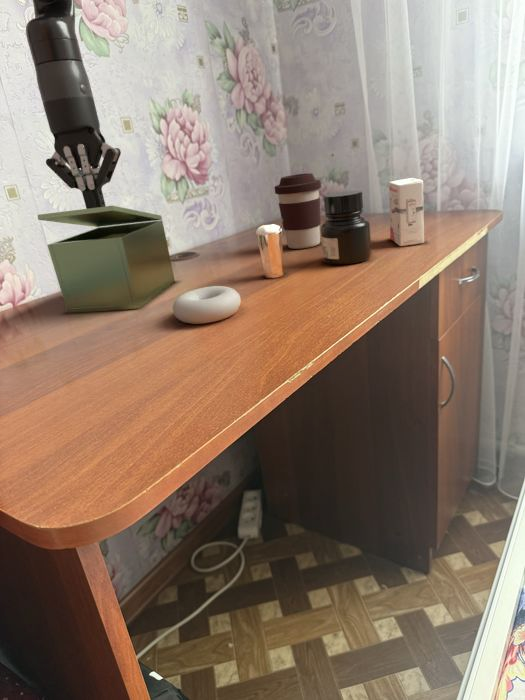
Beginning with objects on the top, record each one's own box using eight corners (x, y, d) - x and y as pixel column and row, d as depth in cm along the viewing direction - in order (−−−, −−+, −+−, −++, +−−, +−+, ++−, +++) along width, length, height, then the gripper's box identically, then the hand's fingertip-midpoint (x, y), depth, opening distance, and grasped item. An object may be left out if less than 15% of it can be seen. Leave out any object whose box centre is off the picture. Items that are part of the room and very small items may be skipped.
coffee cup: (335, 241, 111) (329, 170, 105) (305, 252, 105) (297, 177, 99) (302, 239, 118) (295, 173, 112) (272, 249, 112) (263, 180, 106)
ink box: (389, 239, 105) (387, 180, 101) (413, 236, 105) (411, 177, 101) (399, 246, 97) (397, 183, 93) (425, 243, 97) (424, 180, 93)
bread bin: (138, 308, 82) (121, 237, 77) (67, 313, 86) (47, 244, 81) (175, 282, 96) (162, 220, 91) (112, 287, 99) (97, 227, 95)
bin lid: (113, 210, 76) (112, 205, 75) (37, 219, 79) (37, 214, 79) (162, 219, 91) (161, 215, 91) (97, 227, 95) (96, 222, 95)
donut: (217, 330, 67) (255, 305, 75) (212, 306, 66) (251, 283, 73) (161, 326, 72) (202, 302, 80) (156, 303, 71) (198, 281, 79)
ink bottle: (323, 256, 99) (318, 194, 94) (368, 251, 97) (365, 187, 93) (323, 268, 90) (317, 200, 85) (373, 263, 88) (370, 193, 84)
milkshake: (283, 279, 87) (276, 221, 83) (257, 279, 89) (249, 222, 86) (295, 272, 90) (289, 216, 86) (270, 272, 93) (263, 217, 89)
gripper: (117, 92, 78) (143, 205, 85) (46, 106, 82) (75, 213, 88) (92, 89, 72) (121, 212, 78) (15, 104, 75) (50, 221, 82)
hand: (97, 212), depth 83 cm, fingers closed
